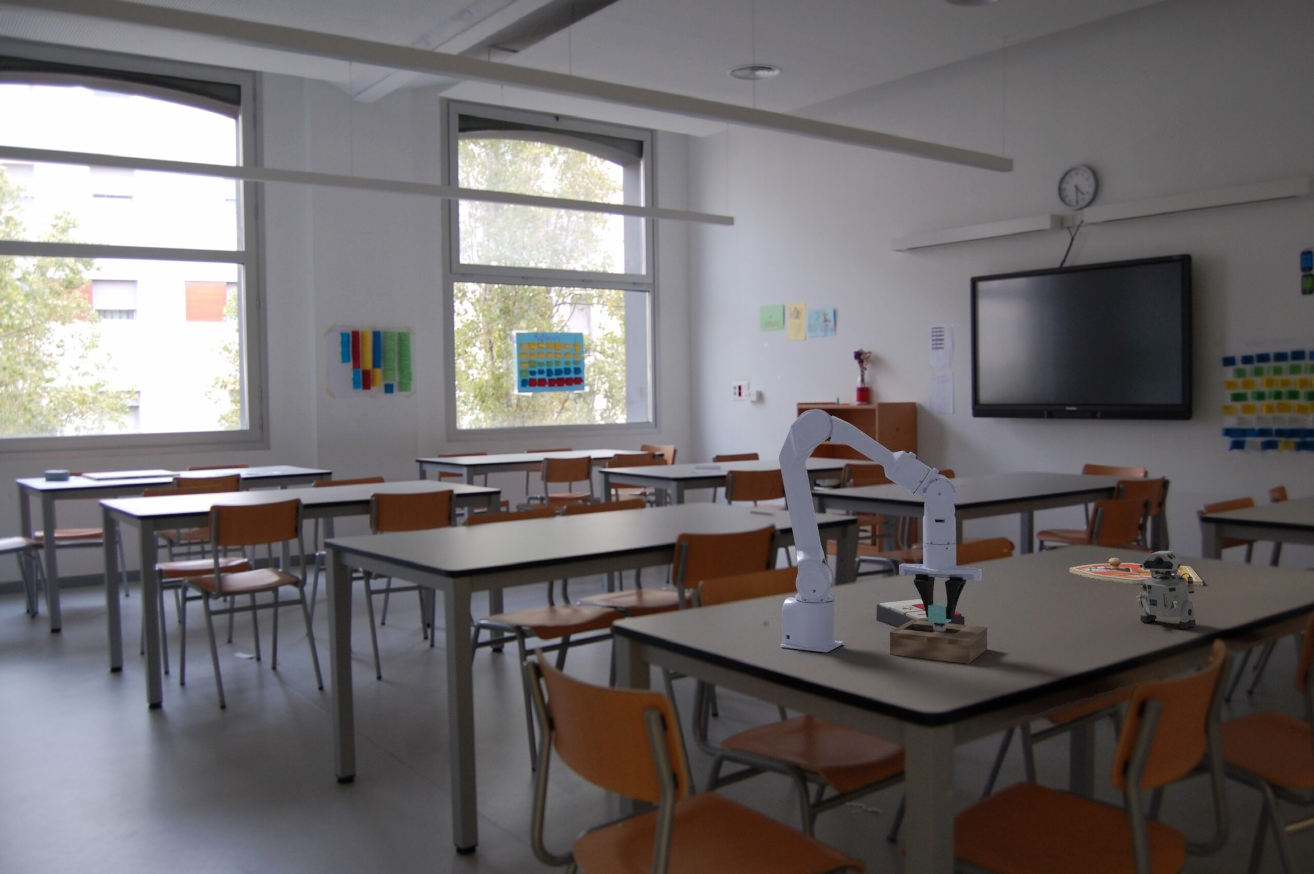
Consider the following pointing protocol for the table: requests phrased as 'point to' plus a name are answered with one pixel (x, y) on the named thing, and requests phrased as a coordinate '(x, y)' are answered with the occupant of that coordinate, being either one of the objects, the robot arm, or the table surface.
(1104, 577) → the knob puzzle
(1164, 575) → the figurine
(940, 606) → the peg
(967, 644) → the keyhole plate
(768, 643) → the table surface
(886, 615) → the calculator
